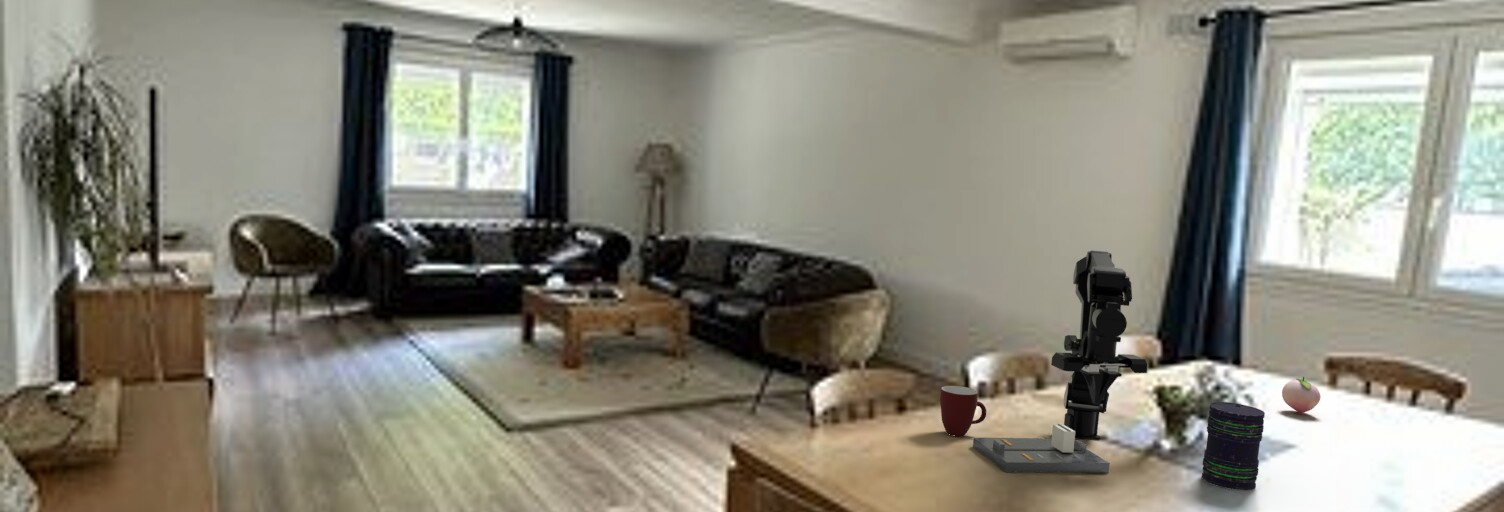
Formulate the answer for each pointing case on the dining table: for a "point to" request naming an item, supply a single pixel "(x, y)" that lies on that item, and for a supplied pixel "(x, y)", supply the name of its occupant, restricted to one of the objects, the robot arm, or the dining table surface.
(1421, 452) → the dining table surface
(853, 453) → the dining table surface
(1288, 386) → the decorative fruit
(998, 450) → the console
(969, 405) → the mug
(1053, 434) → the fader
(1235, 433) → the storage jar
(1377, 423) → the dining table surface
